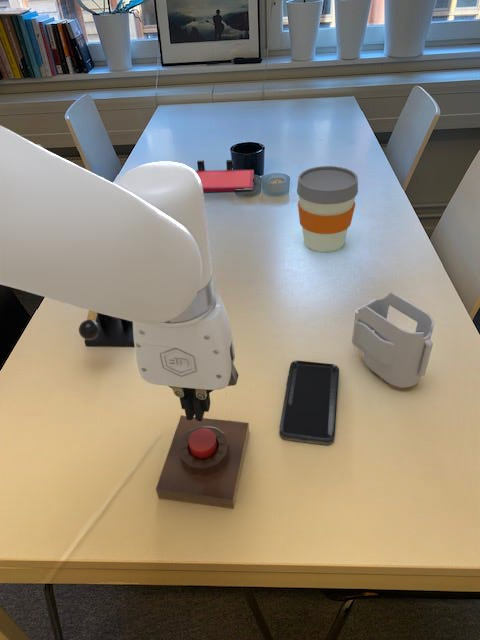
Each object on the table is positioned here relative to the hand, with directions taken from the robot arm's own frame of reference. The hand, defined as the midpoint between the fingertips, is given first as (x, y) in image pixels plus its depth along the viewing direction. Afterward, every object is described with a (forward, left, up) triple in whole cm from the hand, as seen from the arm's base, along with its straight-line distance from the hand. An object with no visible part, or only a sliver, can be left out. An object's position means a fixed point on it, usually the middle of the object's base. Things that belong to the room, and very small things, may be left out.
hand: (197, 411), depth 60 cm
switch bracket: (+19, +30, -11) cm, 37 cm away
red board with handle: (+79, +48, -11) cm, 93 cm away
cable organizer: (+28, -17, -11) cm, 35 cm away
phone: (+16, -9, -11) cm, 21 cm away
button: (0, 0, -7) cm, 7 cm away
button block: (0, 0, -11) cm, 11 cm away
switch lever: (+14, +28, -2) cm, 32 cm away
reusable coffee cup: (+61, +5, -11) cm, 62 cm away
